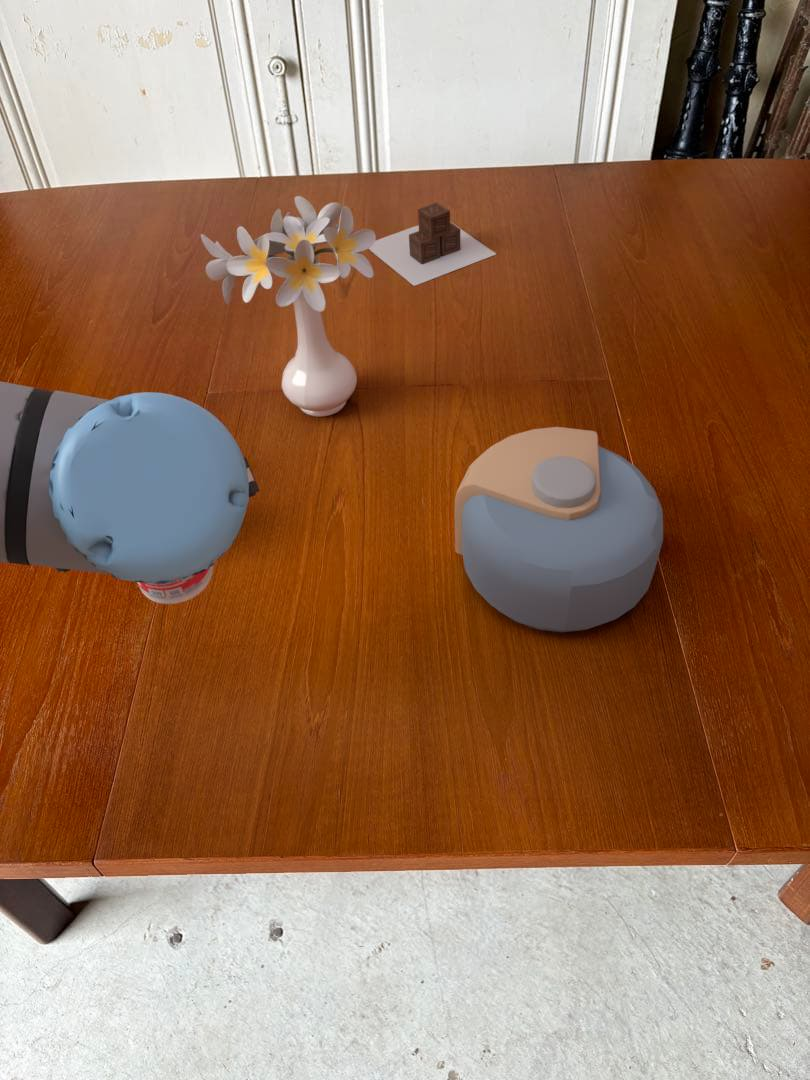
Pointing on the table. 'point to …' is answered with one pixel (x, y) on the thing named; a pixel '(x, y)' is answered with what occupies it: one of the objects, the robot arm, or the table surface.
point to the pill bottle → (177, 588)
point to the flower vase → (302, 293)
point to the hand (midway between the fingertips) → (153, 522)
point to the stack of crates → (430, 247)
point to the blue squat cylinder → (557, 529)
